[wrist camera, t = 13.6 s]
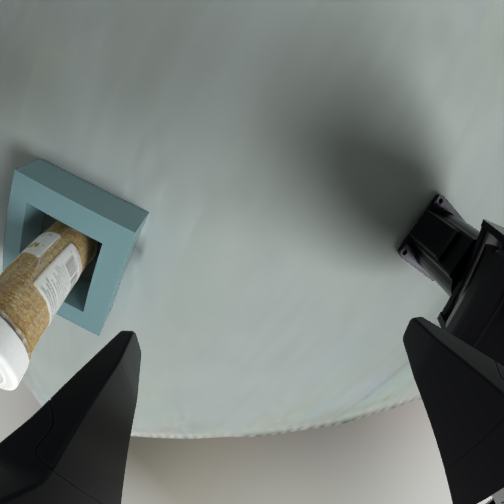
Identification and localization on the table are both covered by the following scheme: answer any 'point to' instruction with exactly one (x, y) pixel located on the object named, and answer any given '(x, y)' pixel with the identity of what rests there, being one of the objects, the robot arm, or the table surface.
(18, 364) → the sprinkles bottle
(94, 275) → the holder
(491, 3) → the table surface
